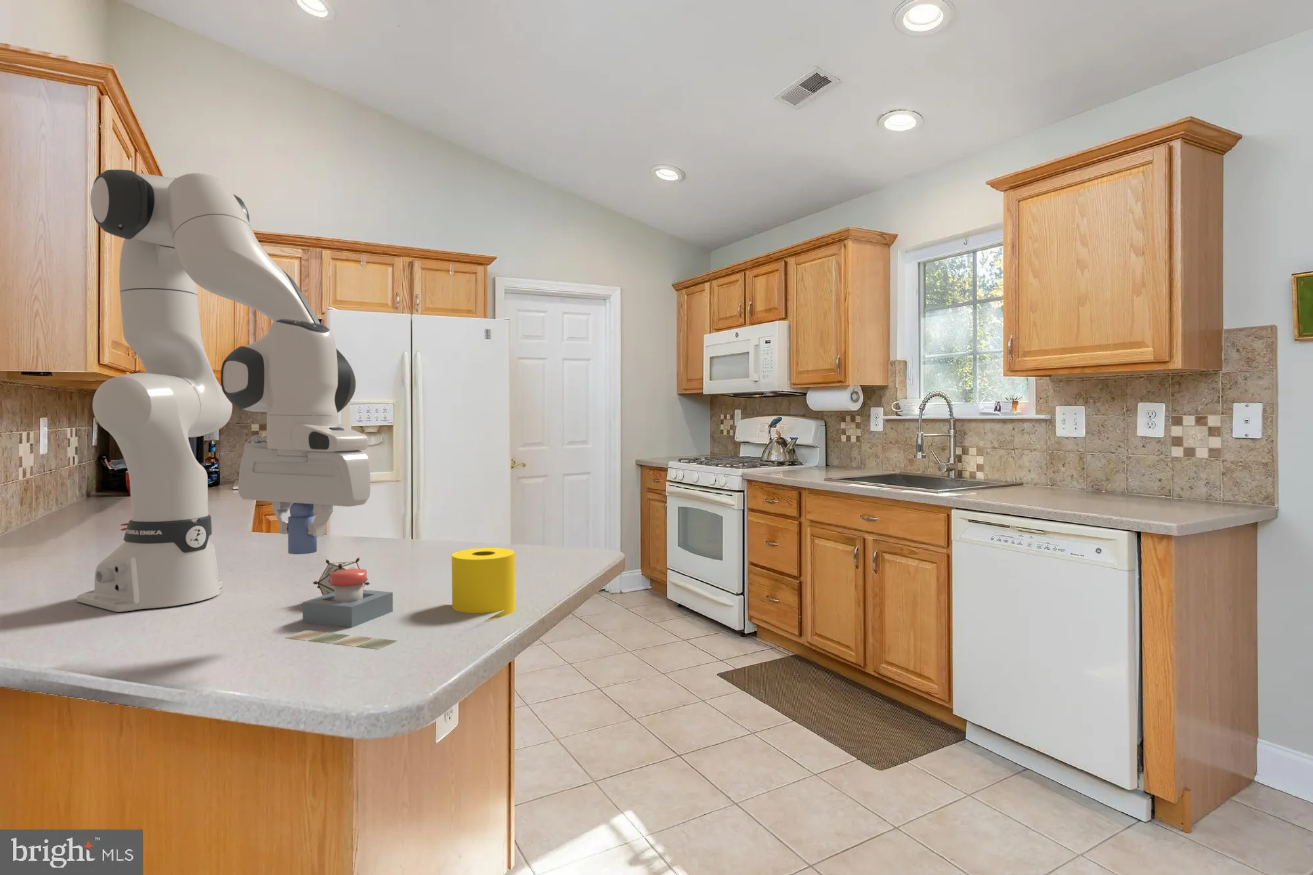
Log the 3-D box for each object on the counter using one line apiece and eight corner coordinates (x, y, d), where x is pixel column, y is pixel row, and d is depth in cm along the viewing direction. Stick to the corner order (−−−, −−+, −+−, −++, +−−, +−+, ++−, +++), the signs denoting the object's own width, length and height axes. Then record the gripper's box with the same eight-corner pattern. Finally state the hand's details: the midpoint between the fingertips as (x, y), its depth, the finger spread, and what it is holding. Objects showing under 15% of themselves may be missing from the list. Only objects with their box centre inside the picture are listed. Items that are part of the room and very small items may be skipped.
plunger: (322, 620, 107) (322, 574, 106) (347, 611, 111) (346, 567, 111) (350, 623, 105) (350, 577, 105) (374, 614, 110) (374, 570, 110)
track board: (271, 649, 96) (271, 642, 96) (316, 632, 103) (316, 625, 103) (368, 662, 91) (368, 654, 91) (408, 643, 98) (408, 636, 98)
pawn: (282, 553, 98) (282, 499, 97) (303, 548, 101) (303, 497, 101) (301, 555, 96) (301, 501, 96) (322, 550, 100) (322, 498, 99)
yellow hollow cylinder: (527, 610, 115) (526, 553, 115) (472, 623, 108) (471, 562, 108) (494, 599, 122) (494, 545, 122) (441, 610, 115) (440, 553, 115)
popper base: (302, 628, 105) (302, 601, 105) (346, 612, 114) (346, 588, 114) (352, 634, 103) (351, 606, 102) (392, 617, 111) (392, 592, 111)
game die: (346, 630, 116) (342, 592, 111) (304, 610, 118) (298, 571, 112) (381, 594, 123) (379, 556, 117) (341, 575, 125) (337, 536, 119)
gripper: (226, 434, 98) (225, 533, 99) (345, 438, 92) (344, 543, 92) (263, 434, 104) (263, 527, 105) (378, 437, 98) (377, 536, 98)
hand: (302, 535), depth 98 cm, fingers closed on pawn, 4 cm apart
